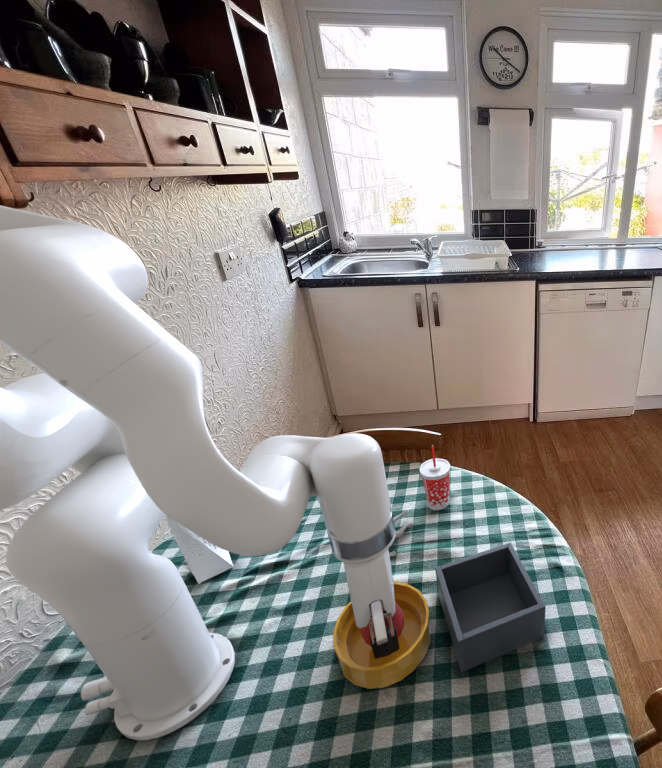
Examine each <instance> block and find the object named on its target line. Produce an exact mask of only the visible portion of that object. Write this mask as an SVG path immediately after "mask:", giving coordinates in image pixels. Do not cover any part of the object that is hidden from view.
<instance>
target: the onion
mask: <svg viewBox="0 0 662 768" xmlns="http://www.w3.org/2000/svg"><path fill="white" fill-rule="evenodd" d="M382 609H383V611H384V608H383V606H382ZM395 610H396V612H395V614H394V615H393V616H392V615H391V618H392V623H393V627H396V632H397V637H399V636H400V634H401V632H402V629H403V627H404V614H403V611H402V609H401V608H400V607H399V606H398V604H397V603H395ZM371 615H372V612H371ZM384 620H385V626H386V627H389V626H388V621H387V618H385V619H384ZM361 635H362V637H363V639H364V641H365V642H366V643H367V644H368V645H370V646H371V642H370V636H371V634H370V629H369V623H368V625H367V626H366V627H363V628H361ZM371 647H372V646H371Z"/></svg>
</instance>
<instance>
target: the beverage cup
mask: <svg viewBox="0 0 662 768" xmlns="http://www.w3.org/2000/svg"><path fill="white" fill-rule="evenodd" d="M435 453H436V452H435V446H434V445H431V455H432V458H431V459H428V460H425V461H424V462H423V463H421V464H420V466H419V475H420V476H421V479H422V483H423V488H424V489H423V490H424V493H425V498H426V499H425V500H426V505H427V506H428V508H429V509H430V510H432V511H441V510H444V509H446V508H447V507H448V506H449V505H450V503H451V495H450V494H451V490H450V489H451V487H450V473H451V464H450V462H449V461H448V460H447V459H444V458H439V457H436V454H435Z"/></svg>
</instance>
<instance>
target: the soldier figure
mask: <svg viewBox="0 0 662 768" xmlns="http://www.w3.org/2000/svg"><path fill="white" fill-rule="evenodd" d="M407 515H408V511H407V510H404V511H403V512H401V513H399V514H397V515H396V516H393V521H394V525H395V524H396V522H397V521H398V520H399V519H400V518H403V517H406V516H407ZM412 527H414V523H413V522H408V523H406V524H404V525H403V526H402V527H401V528H399V529H398V530H395V533H396V534H395V539H397V538H400V537H402V536H403V533H404V532H405V531H406V529H409V528H410V529H411V528H412ZM396 555H397V552H396V551H395V550H393V551H391V552H390V551H389V556H390V558H391V557H394V556H396Z"/></svg>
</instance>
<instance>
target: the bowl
mask: <svg viewBox="0 0 662 768" xmlns="http://www.w3.org/2000/svg"><path fill="white" fill-rule="evenodd" d="M393 587H394V598H395V603H397V604H398V606H399V607H400V608H401V609H402V611H403V614H404V627H403V629H402V632H401V634H400V636H399V637H398V642H399V650H398V651H396V652H393V653H392V654H390V655H388V656H386V657H380V658H378V659H375V658H374V654H373V650H372V647H371V646H370V645H368V644H367V643H366V642H365V641H364V639H363V637H362V635H361V628H358V627H357V626H356V622H355V617H354V612H353V607H352V603H351V601H350V602H349V603H347V604H346V605H345V607H344V608H343V609H342V611H341V612H340V614H339V616H338V617H337V619H336V623H335V625H334V627H333V631H332V641H333V642H332V645H333V646H332V647H333V650H334V653H335V656H336V659H337V663H338V666H339V668H340V670H341V672H342V674H343V676H344V678H346V679H347V680H348V681H349V682H350V683H352V684H353V685H354V686H357V687H360V688H363V689H364V688H365V689H366V690H367V689H368V690H372V689H373V690H374V689H382V688H383V689H384V688H386V687H390V686H391V685H394V684H396V683H398V682H401V681H402V680H404V679H405V678H406V677H408V676H409V675H410V674H412V673H413V672H414V671H415V670H416V669H417V668H418V666H419V665H420V663H422V661H423V660H424V658H425V657H426V654H427V652H428V649H429V648H430V644H431V640H432V631H433V630H432V622H431V615H430V610H429V606H428V605H429V604H428V602H427V599H426V597H425V596H424V595H423V593H422V592H421V591H420V590H419V589H417V588H416V587H414V586H412V585H411V584H409V583H408V584H407V583H404V582H399V581H395V582H394V581H393Z"/></svg>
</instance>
